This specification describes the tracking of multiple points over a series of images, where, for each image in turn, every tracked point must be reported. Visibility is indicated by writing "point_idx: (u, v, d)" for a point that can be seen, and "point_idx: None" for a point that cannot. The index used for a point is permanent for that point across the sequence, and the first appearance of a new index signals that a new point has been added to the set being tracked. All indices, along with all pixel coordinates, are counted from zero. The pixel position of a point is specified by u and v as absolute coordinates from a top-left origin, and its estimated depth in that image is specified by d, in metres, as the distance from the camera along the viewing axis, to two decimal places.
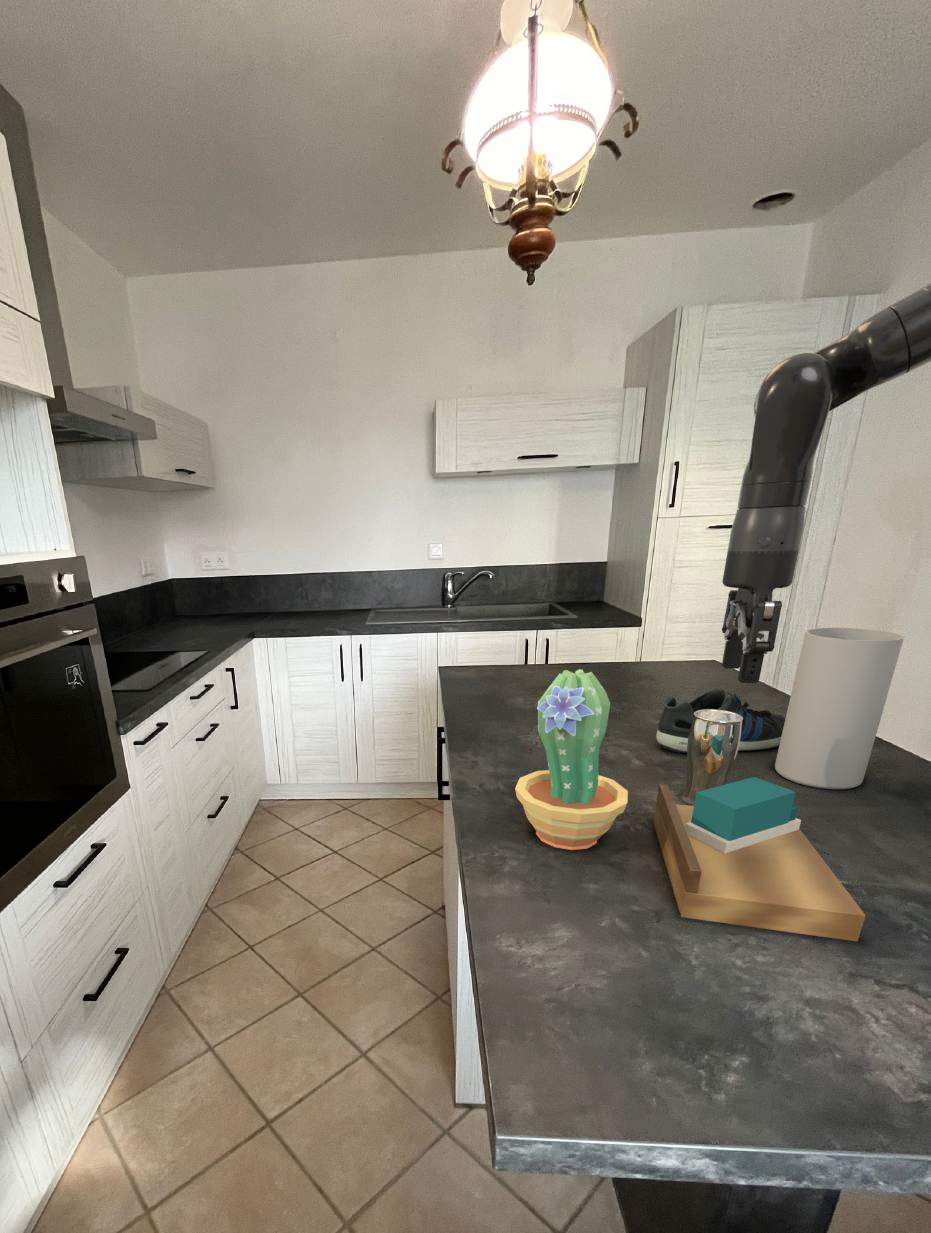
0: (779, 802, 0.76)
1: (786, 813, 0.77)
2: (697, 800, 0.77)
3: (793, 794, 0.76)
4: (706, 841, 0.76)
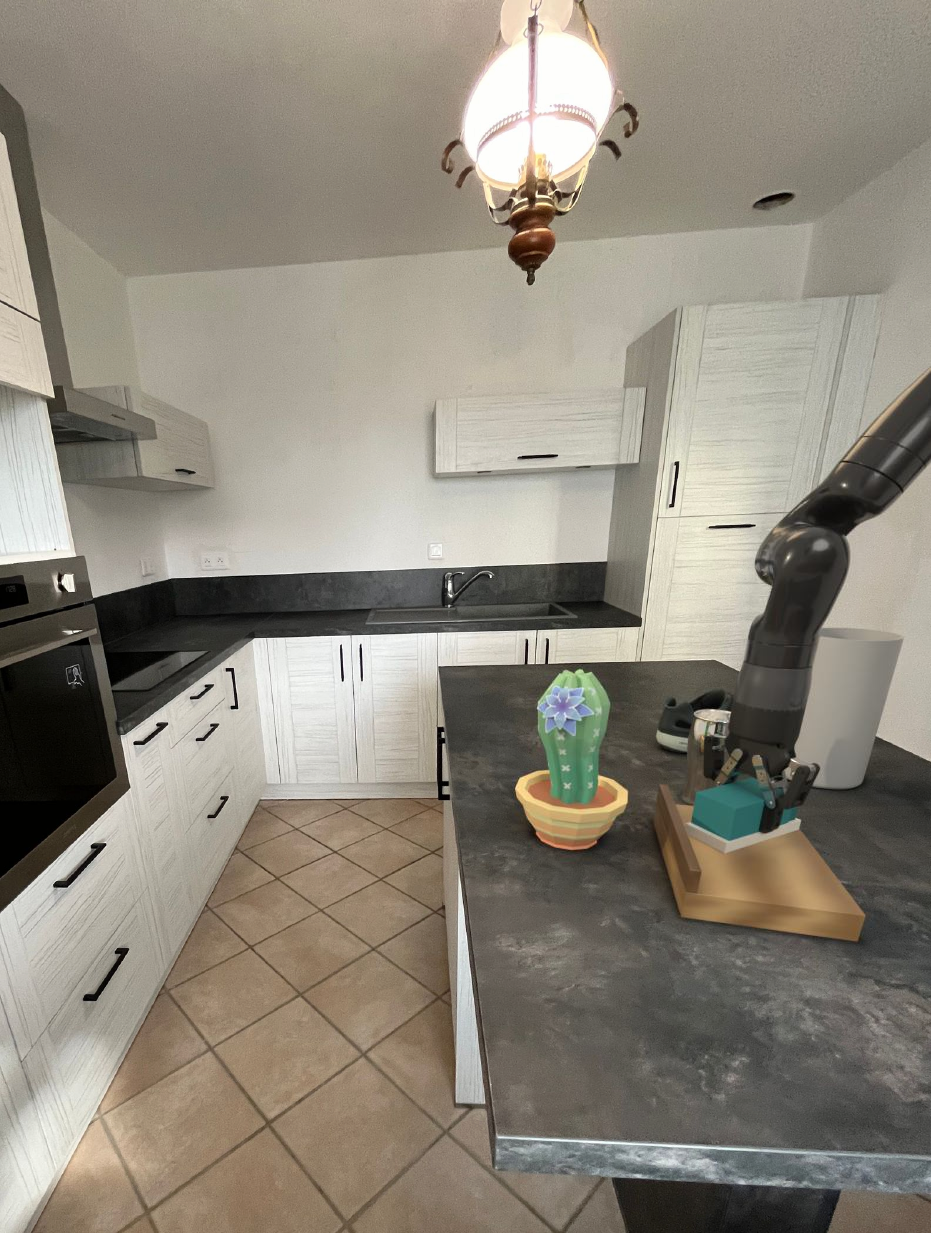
0: None
1: (786, 813, 0.77)
2: (697, 800, 0.77)
3: None
4: (706, 841, 0.76)
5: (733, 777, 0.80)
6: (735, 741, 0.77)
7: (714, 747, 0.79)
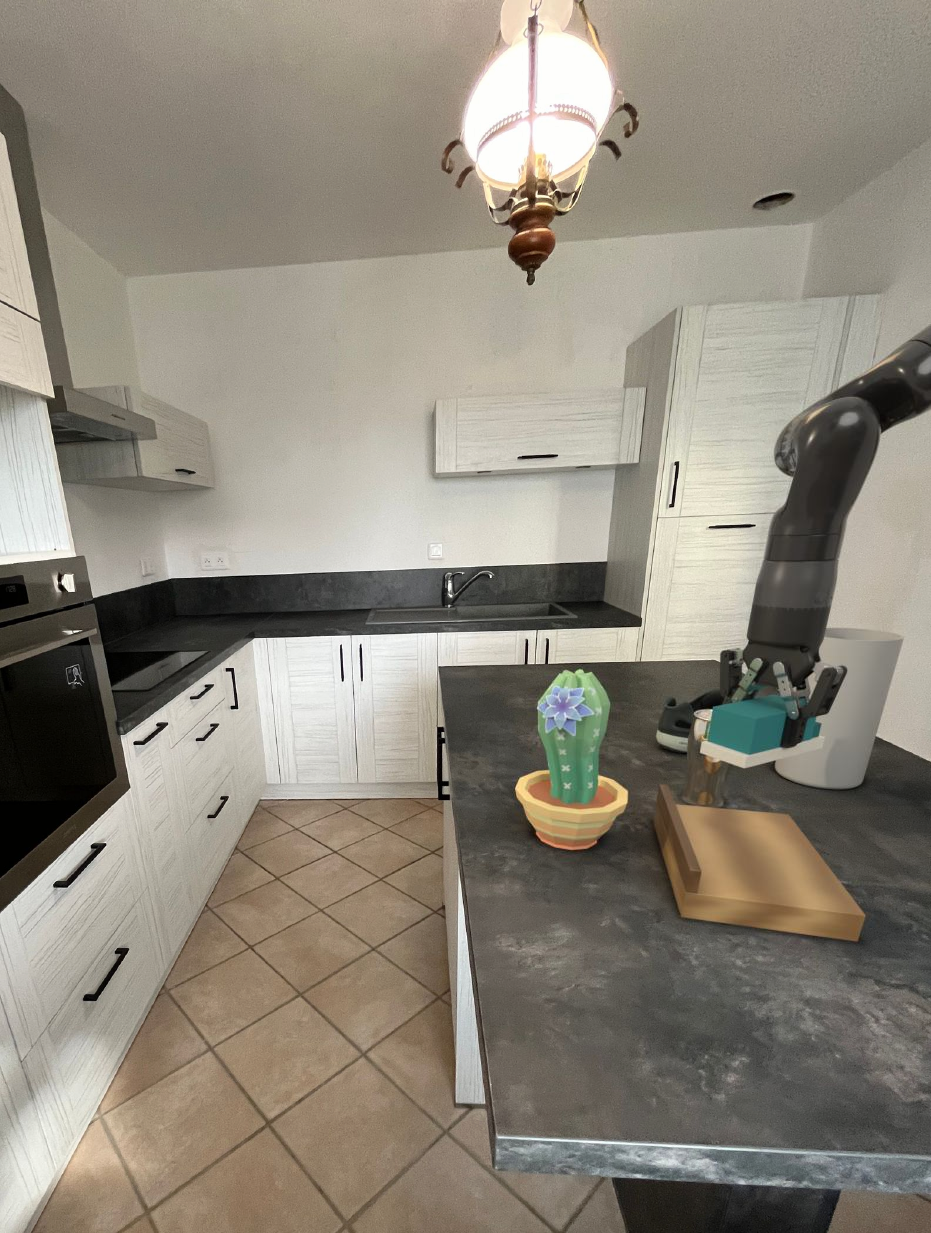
0: None
1: (809, 728, 0.72)
2: (714, 715, 0.73)
3: None
4: (724, 758, 0.72)
5: (752, 693, 0.75)
6: (754, 651, 0.72)
7: (731, 661, 0.75)
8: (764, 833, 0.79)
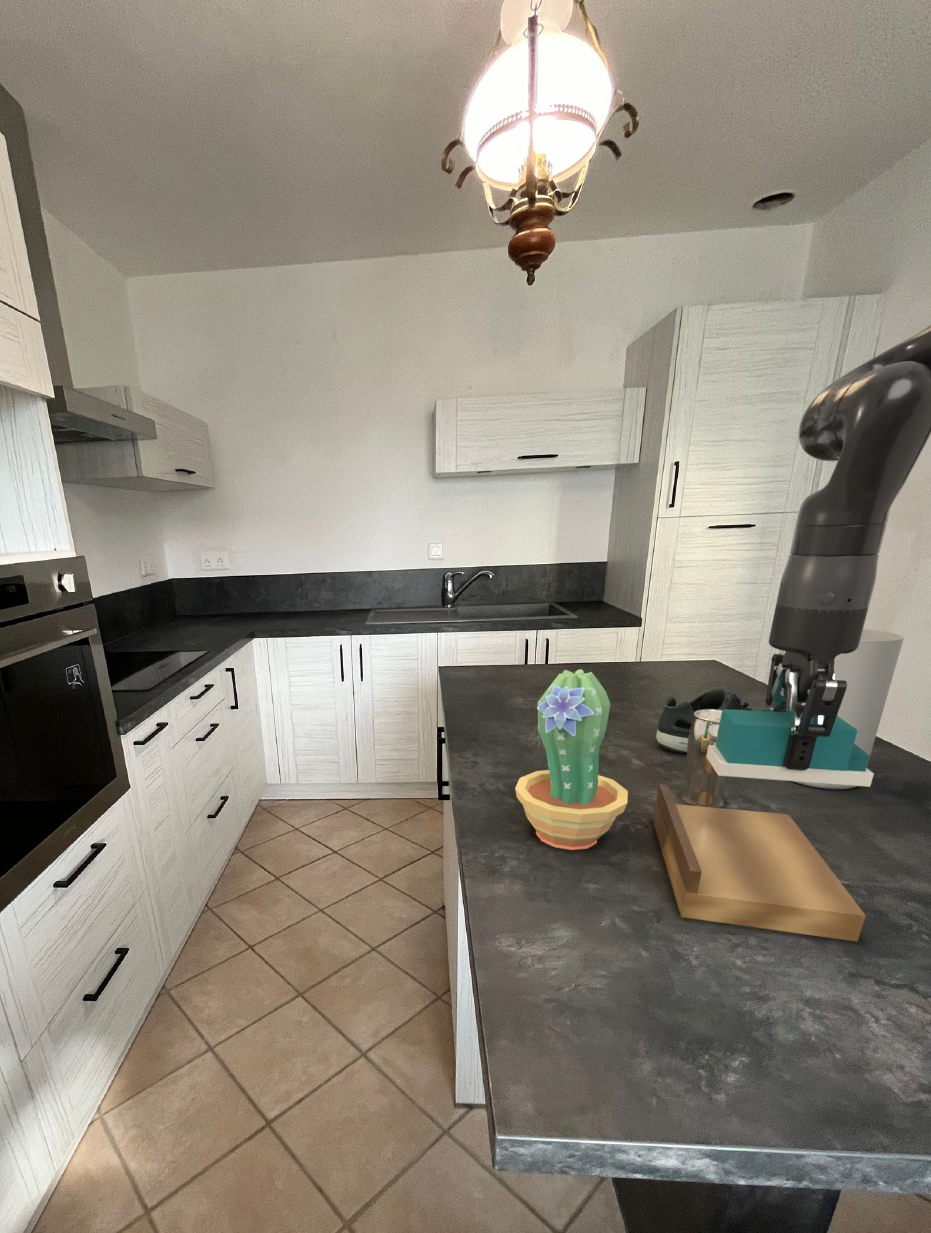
0: None
1: (840, 756, 0.61)
2: (721, 718, 0.68)
3: (852, 732, 0.60)
4: (713, 763, 0.67)
5: None
6: (787, 656, 0.64)
7: (776, 667, 0.67)
8: (764, 833, 0.79)
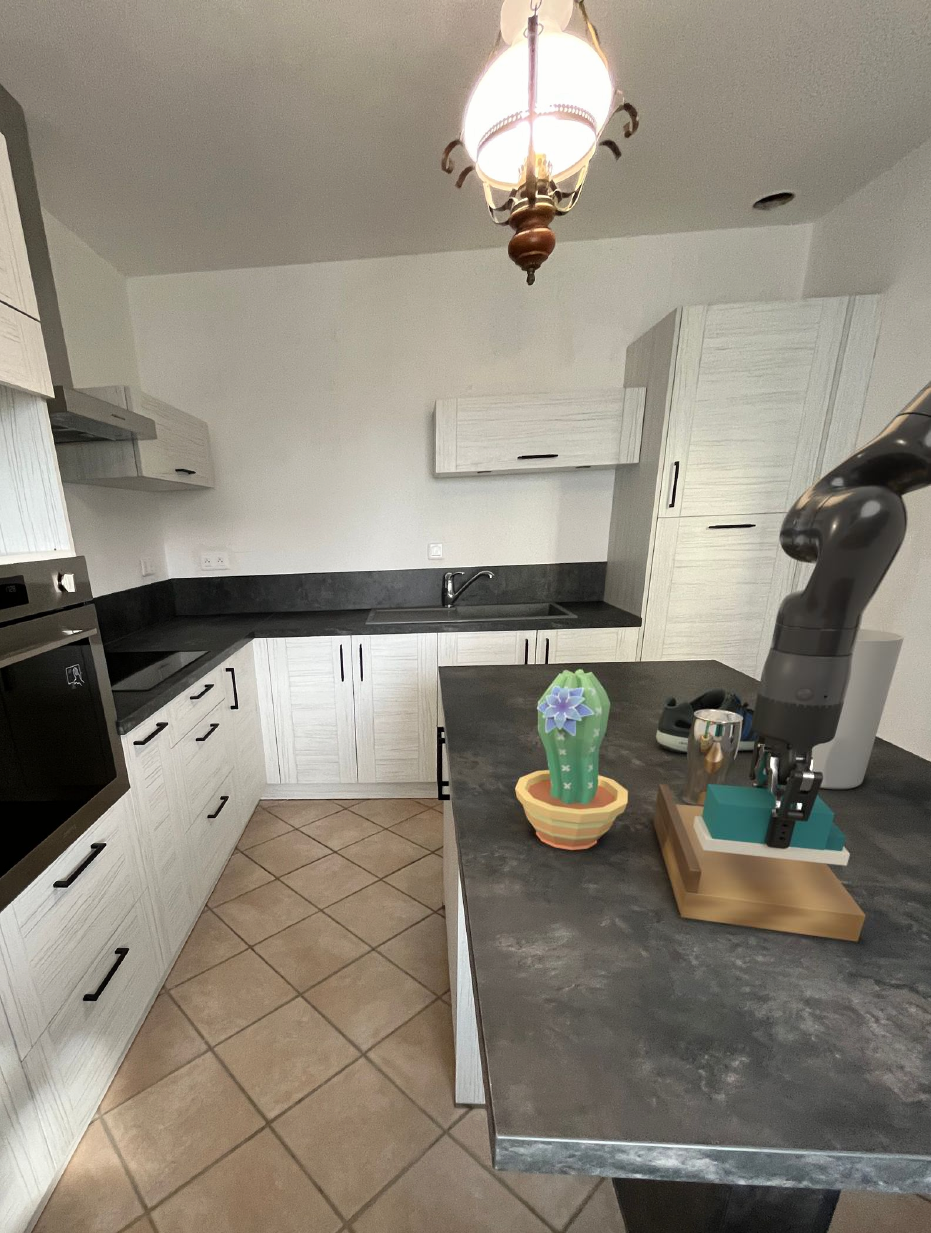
0: None
1: (818, 836, 0.64)
2: (707, 793, 0.71)
3: (829, 815, 0.63)
4: (699, 836, 0.71)
5: None
6: (769, 738, 0.67)
7: (759, 745, 0.70)
8: None
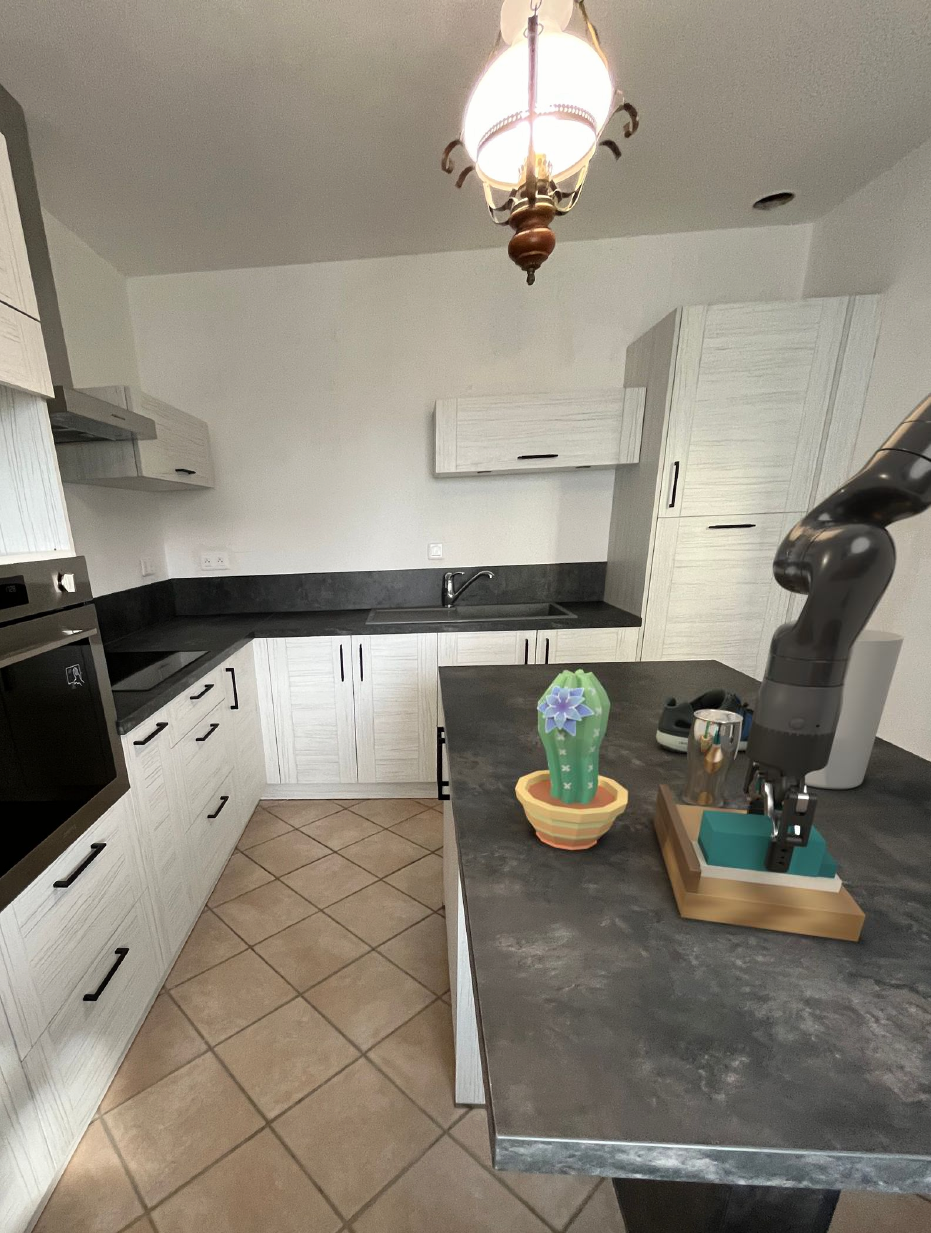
0: (794, 846, 0.66)
1: (811, 864, 0.66)
2: (702, 818, 0.73)
3: (822, 844, 0.65)
4: None
5: None
6: None
7: (754, 764, 0.71)
8: None
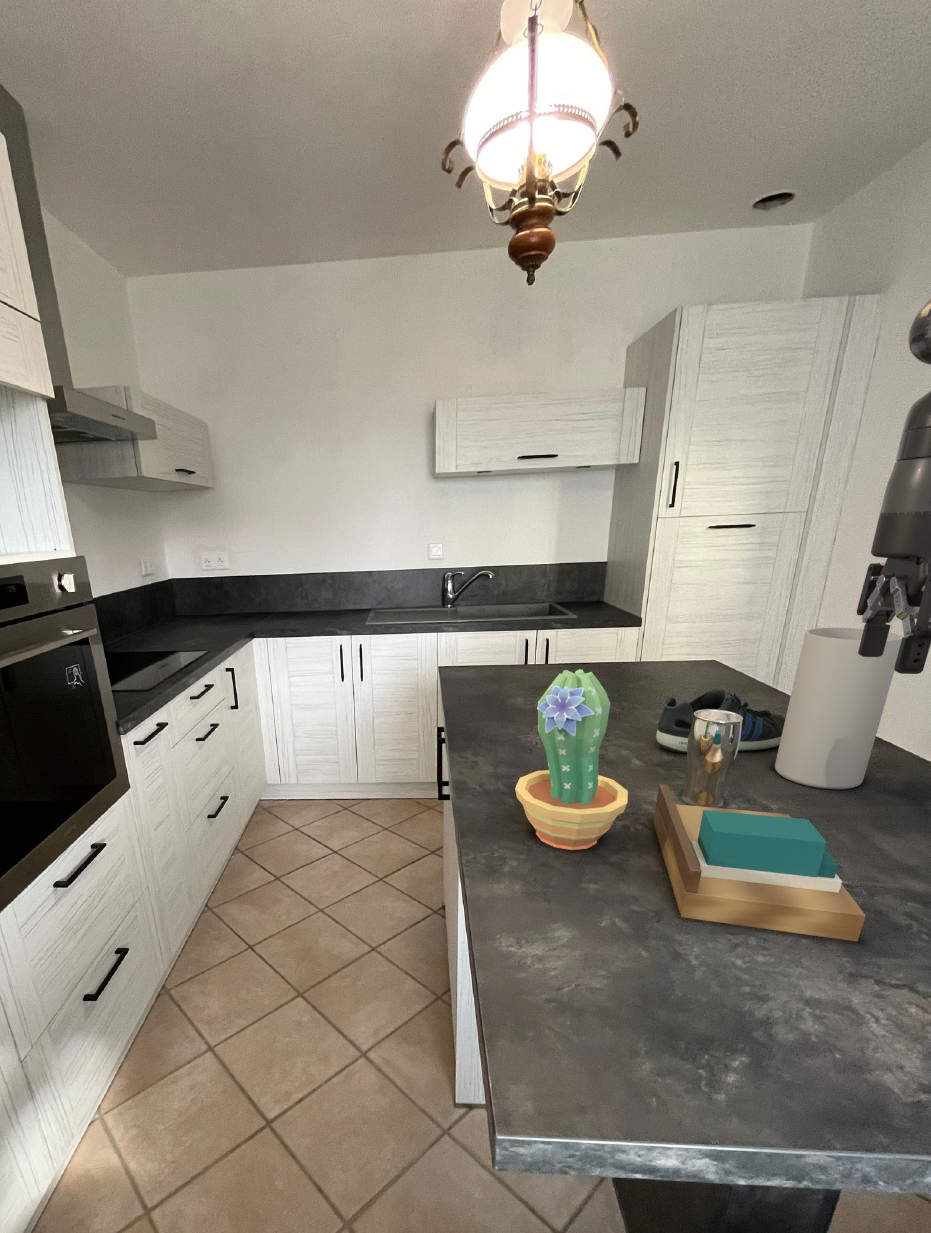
0: (794, 846, 0.66)
1: (811, 864, 0.66)
2: (702, 818, 0.73)
3: (822, 844, 0.65)
4: None
5: (889, 613, 0.67)
6: (888, 570, 0.65)
7: (872, 577, 0.68)
8: None
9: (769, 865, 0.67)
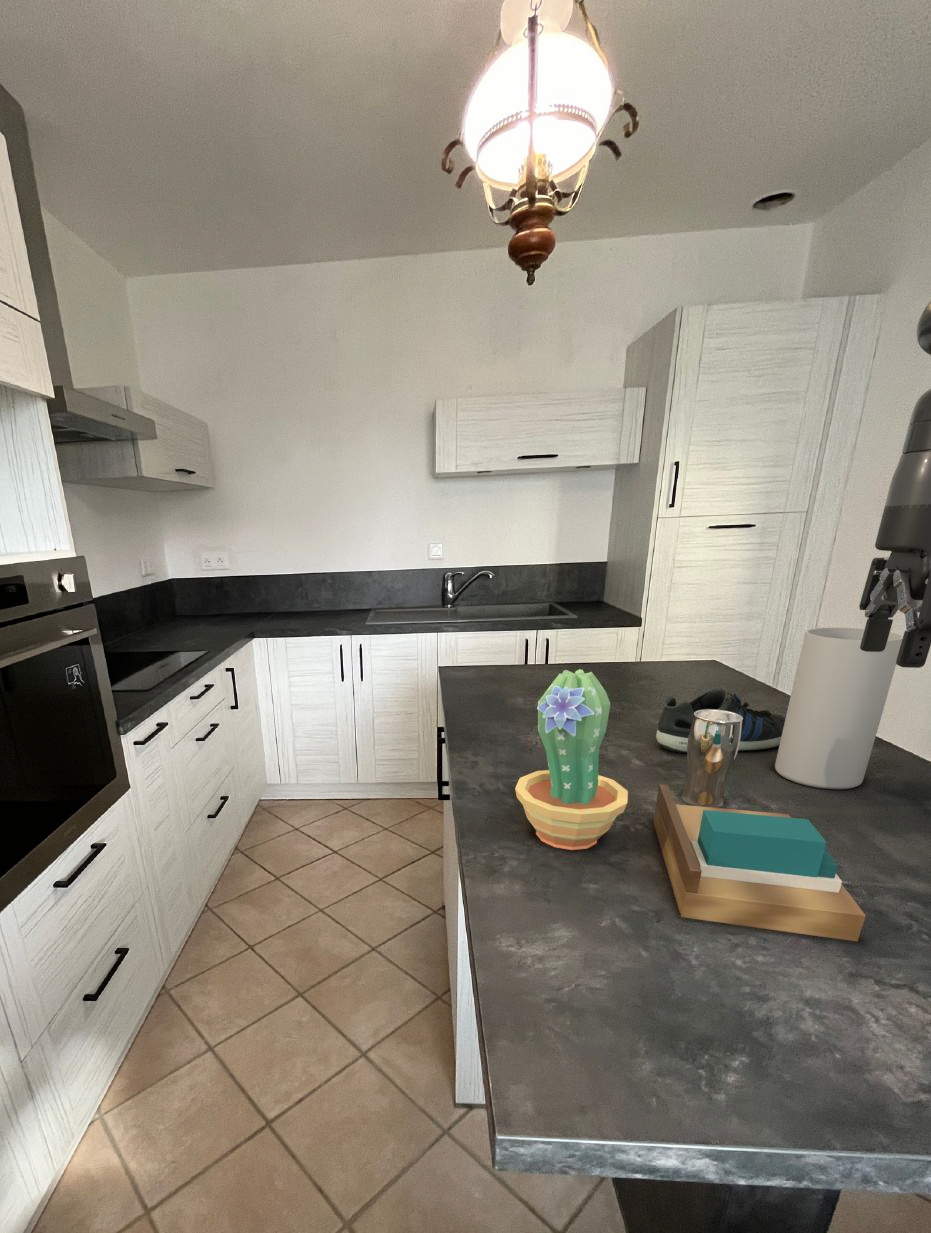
0: (794, 846, 0.66)
1: (811, 864, 0.66)
2: (702, 818, 0.73)
3: (822, 844, 0.65)
4: None
5: (891, 608, 0.67)
6: (891, 564, 0.65)
7: (875, 572, 0.68)
8: None
9: (769, 865, 0.67)
